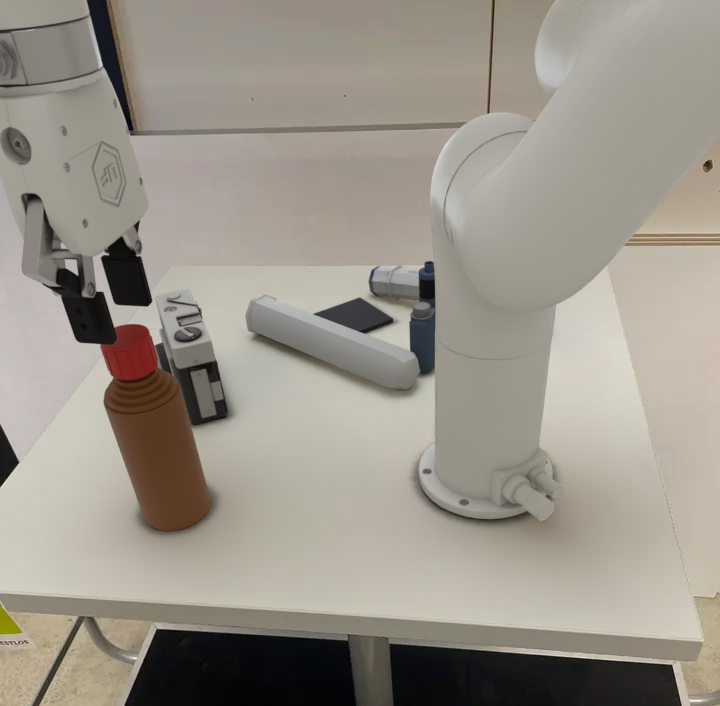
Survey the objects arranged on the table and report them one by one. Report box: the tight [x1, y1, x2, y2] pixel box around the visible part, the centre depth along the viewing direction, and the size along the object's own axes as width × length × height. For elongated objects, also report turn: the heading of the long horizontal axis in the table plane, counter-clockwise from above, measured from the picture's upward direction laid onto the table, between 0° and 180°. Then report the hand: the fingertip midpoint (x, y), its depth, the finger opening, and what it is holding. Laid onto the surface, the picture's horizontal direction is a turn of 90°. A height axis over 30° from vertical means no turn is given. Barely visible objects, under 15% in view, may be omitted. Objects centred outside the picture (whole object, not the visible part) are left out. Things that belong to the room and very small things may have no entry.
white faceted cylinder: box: [368, 264, 420, 302], centre depth 93 cm, size 5×7×25 cm
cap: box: [99, 323, 158, 380], centre depth 58 cm, size 4×4×3 cm
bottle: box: [102, 367, 212, 532], centre depth 63 cm, size 6×6×18 cm
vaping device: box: [408, 260, 435, 375], centre depth 82 cm, size 3×5×12 cm, turn 156°
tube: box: [244, 293, 420, 392], centre depth 86 cm, size 5×5×25 cm
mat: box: [312, 297, 394, 334], centre depth 95 cm, size 8×8×1 cm
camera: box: [154, 288, 229, 426], centre depth 81 cm, size 14×8×10 cm, turn 20°
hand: (115, 320), depth 56 cm, fingers open, 5 cm apart
